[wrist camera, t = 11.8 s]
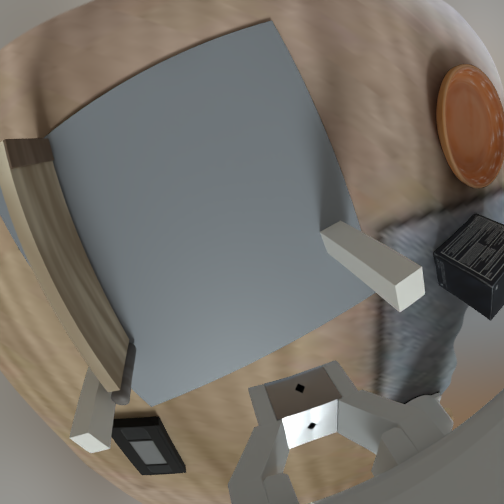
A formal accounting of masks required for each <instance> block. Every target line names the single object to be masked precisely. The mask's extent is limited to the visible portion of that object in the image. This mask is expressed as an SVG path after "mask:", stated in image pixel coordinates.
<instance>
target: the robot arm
mask: <svg viewBox="0 0 504 504" xmlns="http://www.w3.org/2000/svg"><path fill="white" fill-rule="evenodd" d="M248 389H249V394H250V398H251V401H252V404H253V408H254V411H255V414H256V418H257V421H258V424H259V426H257V427H254V430H253V432H252V434H251V436H250V438H249V441H248V443H247V445H246V447H245V449H244V452H243V454H242V456H241V458H240V460H239V462H238V464H237V466H236V469H235V471H234V473H233V475H232V477H231V479H230V481H229V483H228V488H229V493H230V498H231V503H232V504H299V502H298V499H297V497H296V494H295V492H294V489H293V487H292V484H291V481H290V479H289V476H288V475H287V474H284V473H283V470H284V467H285V464H286V460H287V457H288V453H289V449H290V448H293V447H296V446H298V445H301V444H304V443H307V442H309V441H312V440H315V439H318V438H321V437H324V436H327V435H329V434H332V433H335V432H338V433H339V434H341V435H343V436H345V437H346V438H348V439H350V440H352V441H354V442H355V443H357V444H359V445H361V446H363V447H365V448H366V449H368V450H370V451H372V452H373V453H375V454H376V458H375V461H374V464H373V467H372V470H371V471H372V473H373V475H374V477H373V478H371V479H369V480H367V481H365V482H363V483H360V484H358V485H356V486H354V487H351V488H349V489H346V490H344V491H342V492H339V493H337V494H334V495H331V496H329V497H326V498H323V499H320V500H318V501H315V502H312V503H309V504H504V389H503V390H502V391H501V392H500V393H499V394H497V395H496V396H495V397H494V398H493V399H492V400H491V401H490V402H488V403H487V404H486V405H485V406H484V407H482V408H481V409H480V410H479V411H478V412H476V413H475V414H474V415H473V416H472V417H470V418H469V419H468V420H466V421H465V422H464V423H462V424H461V425H460V426H458V427H457V428H456V429H454V430H453V431H452V427H453V421H452V419H451V418H450V417H449V415H448V414H447V413H446V411H445V410H444V409H443V407H442V406H441V405H440V404H439V402H440V399H441V395H440V393H436V394H433V395H423V396H420V397H417V398H415V399H413V400H411V401H410V402H408V403H406V404H402V403H399V402H396V401H393V400H390V399H387V398H385V397H382V396H379V395H376V394H373V393H371V392H368V391H365V390H360V391H358V390H357V388H356V387H355V386H354V384H353V383H352V381H351V380H350V378H349V377H348V376H347V374H346V373H345V371H344V370H343V369H342V367H341V366H340V364H339V363H338V362H337V361H332V362H329V363H327V364H324V365H321V366H318V367H316V368H313V369H310V370H307V371H304V372H301V373H298V374H296V375H293V376H290V377H287V378H283V379H280V380H276V381H273V382H269V383H265V384H264V385H263V384H262V385H258V386H254V387H250V388H248Z"/></svg>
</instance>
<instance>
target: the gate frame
mask: <svg viewBox="0 0 504 504" xmlns="http://www.w3.org/2000/svg"><path fill="white" fill-rule="evenodd" d="M44 138H48V139H49V142H50V146H51V150H52V154H53V157H54V160H53V165H54V168H55V171H56V175H57V178H58V181H59V184H60V187H61V190H62V193H63V196H64V199H65V202H66V205H67V207H68V210H69V213H70V215H71V218H72V221H73V223H74V226H75V228H76V231H77V233H78V236H79V238H80V241H81V243H82V246H83V248H84V250H85V253H86V255H87V257H88V259H89V262H90V264H91V266H92V268H93V271H94V273H95V275H96V277H97V279H98V281H99V283H100V285H101V287H102V289H103V291H104V293H105V295H106V297H107V299H108V301H109V303H110V305H111V307H112V309H113V311H114V313H115V315H116V317H117V318H118V320H119V322H120V324H121V326H122V327H123V329H124V331H125V333H126V335H127V336H128V338H129V343H132V344H134V345H135V347H136V356H135V363H134V370H133V377H132V384H131V389H132V390H134V391H135V392H136V393H137V394H138V395H139V396H140V397H141V398H142V399H143V400H144V401H145V402H146V403H148V404H149V405H150V406H151V407H152V406H154V405H157V404H160V403H162V402H165V401H167V400H170V399H172V398H175V397H177V396H180V395H182V394H184V393H187V392H189V391H191V390H194V389H196V388H198V387H201V386H203V385H205V384H208V383H210V382H212V381H214V380H216V379H219V378H221V377H223V376H225V375H227V374H229V373H232V372H234V371H236V370H238V369H240V368H242V367H244V366H246V365H248V364H250V363H252V362H254V361H256V360H258V359H260V358H262V357H264V356H266V355H268V354H270V353H272V352H274V351H276V350H278V349H280V348H282V347H283V346H285V345H287V344H289V343H291V342H293V341H295V340H296V339H298V338H300V337H302V336H304V335H306V334H307V333H309V332H311V331H313V330H314V329H316V328H318V327H320V326H321V325H323V324H325V323H327V322H328V321H330V320H332V319H333V318H335V317H337V316H338V315H340V314H342V313H343V312H345V311H347V310H348V309H350V308H352V307H353V306H355V305H356V304H358V303H360V302H361V301H363V300H364V299H366V298H368V297H369V296H371V295H372V294H374V293H375V292H376V293H377V294H379V295H380V296H381V297H382V298H383V299H384V300H386V301H387V302H388V303H389V304H390V305H392V306H393V307H394V308H395V309H396V310H397V311H399V312H401V311H403V310H404V309H405V308H407V307H408V306H410V305H411V304H412V303H414V302H415V301H416V300H418V299H419V298H420V297H422V296H423V295H424V294H425V288H424V279H423V271H422V266H420V265H418V264H417V263H415V262H413V261H412V260H410V259H408V258H407V257H405V256H403V255H401V254H400V253H398V252H396V251H395V250H393V249H391V248H389V247H388V246H386V245H384V244H382V243H381V242H379V241H377V240H375V239H373V238H372V237H370V236H368V235H366V234H364V233H363V232H361V229H360V225H359V222H358V219H357V216H356V213H355V210H354V207H353V203H352V200H351V198H350V195H349V192H348V189H347V186H346V183H345V180H344V177H343V175H342V172H341V169H340V167H339V164H338V161H337V159H336V156H335V153H334V151H333V148H332V146H331V143H330V141H329V138H328V136H327V133H326V131H325V128H324V126H323V124H322V121H321V119H320V117H319V114H318V112H317V110H316V107H315V105H314V103H313V101H312V98H311V96H310V94H309V92H308V90H307V88H306V86H305V83H304V81H303V79H302V77H301V75H300V73H299V71H298V69H297V67H296V65H295V63H294V61H293V59H292V57H291V55H290V53H289V51H288V49H287V47H286V46H285V44H284V42H283V40H282V38H281V36H280V34H279V33H278V31H277V29H276V27H275V25H274V24H273V22H272V21H268V22H265V23H261V24H258V25H254V26H251V27H248V28H245V29H242V30H239V31H236V32H233V33H230V34H227V35H224V36H222V37H219V38H216V39H214V40H211V41H208V42H206V43H203V44H201V45H198V46H196V47H194V48H191V49H189V50H187V51H184V52H182V53H180V54H178V55H176V56H173V57H171V58H169V59H167V60H165V61H163V62H161V63H159V64H157V65H155V66H153V67H151V68H149V69H147V70H145V71H143V72H141V73H140V74H138V75H136V76H134V77H132V78H131V79H129V80H127V81H125V82H124V83H122V84H120V85H118V86H117V87H115V88H113V89H112V90H110V91H109V92H107V93H105V94H104V95H102V96H101V97H99V98H98V99H96V100H94V101H93V102H91V103H90V104H88V105H87V106H86V107H84V108H83V109H81V110H80V111H78V112H77V113H76V114H74V115H73V116H71V117H70V118H69V119H67V120H66V121H65V122H63V123H62V124H61V125H59V126H58V127H57V128H55V129H54V130H53V131H52V132H50V133H49V134H48V135H47V136H45V137H44ZM0 215H1V217H2V219H3V221H4V223H5V225H6V227H7V228H8V230H9V232H10V234H11V236H12V237H13V239H14V241H15V243H16V244H17V246H18V248H19V249H20V251H21V253H22V254H23V256H24V257H25V259H26V261H27V262H28V259H27V257H26V255H25V252H24V250H23V248H22V245H21V243H20V241H19V238H18V236H17V233H16V230H15V228H14V225H13V223H12V220H11V217H10V214H9V211H8V208H7V206H6V202H5V199H4V196H3V193H2V190H1V186H0ZM28 264H29V262H28ZM29 265H30V264H29ZM30 267H31V266H30ZM111 394H112V392H107V390H106V389H105V388H104V387H103V385H102V384H101V383H100V381H99V380H98V379H97V377H96V376H95V375H94V373H93V372H92V370H91V369H90V368H89V367H88V370H87V373H86V377H85V380H84V383H83V387H82V390H81V394H80V397H79V401H78V405H77V409H76V413H75V416H74V421H73V425H72V429H71V433H70V439H71V440H73V441H74V442H75V443H77V444H78V445H80V446H81V447H82V448H84V449H85V450H87V451H88V452H90V453H94V452H98V451H102V450H106V449H110V444H111V435H112V427H113V419H114V412H115V405H116V403H114V402H113V401H112V399H111Z"/></svg>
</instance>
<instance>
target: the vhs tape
mask: <svg viewBox="0 0 504 504" xmlns="http://www.w3.org/2000/svg"><path fill="white" fill-rule="evenodd" d="M111 437H112V438H113V439H114V441H115V442H116V443H117V445H118V446H119V447H120V449H121V450H122V451H123V453H124V454H125V455H126V456H127V458H128V459H129V460H130V461H131V463H132V464H133V465H134V466H135V468H136V469H137V470H138V471H139V472H140V473H141V475H159V474H175V473H183V472H184V473H186V467H185V464H184V462H183V461H182V459H181V457H180V455H179V454H178V452H177V450H176V448H175V446H174V444H173V443H172V441H171V439H170V437H169V435H168V433H167V431H166V429H165V427H164V425H163V424H162V422H161V420H160V418H159V416H158V417H151V418H150V417H144V418H128V419H113V427H112V435H111Z"/></svg>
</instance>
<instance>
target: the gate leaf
mask: <svg viewBox="0 0 504 504" xmlns="http://www.w3.org/2000/svg"><path fill="white" fill-rule="evenodd" d="M53 160H54V157H53V154H52V150H51V146H50V142H49V139H48V138H35V139H5V140H3V141H2V142H0V186H1V190H2V193H3V196H4V199H5V202H6V206H7V208H8V211H9V214H10V217H11V220H12V223H13V225H14V228H15V230H16V233H17V236H18V238H19V241H20V243H21V245H22V248H23V250H24V252H25V255H26V257H27V259H28V262H29V264H30V266H31V268H32V270H33V272H34V274H35V276H36V279H37V281H38V283H39V285H40V287H41V288H42V290H43V292H44V294H45V296H46V298H47V300H48V302H49V304H50V305H51V307H52V309H53V311H54V313H55V314H56V316H57V318H58V320H59V321H60V323H61V325H62V326H63V328H64V330H65V331H66V333H67V334H68V336H69V338H70V339H71V341H72V342H73V344H74V345H75V347H76V349H77V350H78V352H79V353H80V355H81V356H82V358H83V359H84V360H85V362H86V363H87V365H88V366H89V368H90V369H91V370H92V372H93V373H94V375H95V376H96V377H97V379H98V380H99V381H100V383H101V384H102V385H103V387H104V388H105V389H106V390H107V392H112V394H111V399H112V401H113V402H114V403H116V404H119V405H127V404H128V403H129V401H130V392H131V384H132V377H133V370H134V363H135V356H136V347H135V345H134V344H132V343H129V338H128V336H127V335H126V333H125V331H124V329H123V327H122V326H121V324H120V322H119V320H118V318H117V317H116V315H115V313H114V311H113V309H112V307H111V305H110V303H109V301H108V299H107V297H106V295H105V293H104V291H103V289H102V287H101V285H100V283H99V281H98V279H97V277H96V275H95V273H94V271H93V268H92V266H91V264H90V262H89V259H88V257H87V255H86V253H85V250H84V248H83V246H82V243H81V241H80V238H79V236H78V233H77V231H76V228H75V226H74V223H73V221H72V218H71V215H70V213H69V210H68V207H67V205H66V202H65V199H64V196H63V193H62V190H61V187H60V184H59V181H58V178H57V175H56V171H55V168H54V165H53Z"/></svg>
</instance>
